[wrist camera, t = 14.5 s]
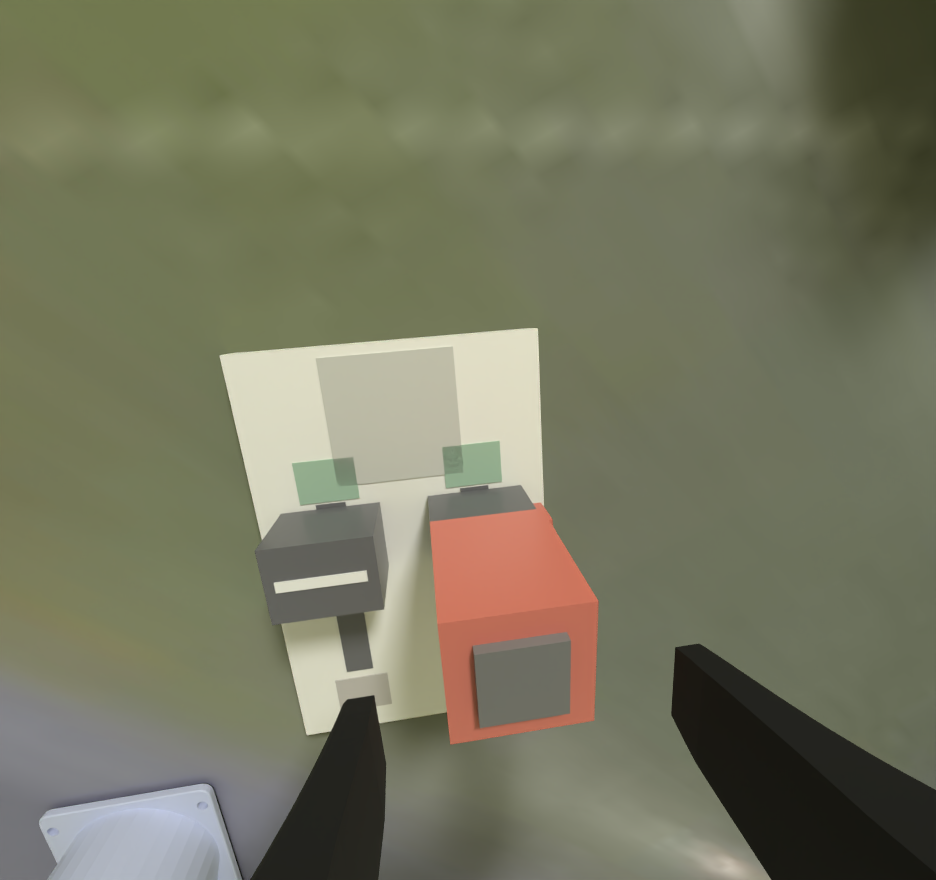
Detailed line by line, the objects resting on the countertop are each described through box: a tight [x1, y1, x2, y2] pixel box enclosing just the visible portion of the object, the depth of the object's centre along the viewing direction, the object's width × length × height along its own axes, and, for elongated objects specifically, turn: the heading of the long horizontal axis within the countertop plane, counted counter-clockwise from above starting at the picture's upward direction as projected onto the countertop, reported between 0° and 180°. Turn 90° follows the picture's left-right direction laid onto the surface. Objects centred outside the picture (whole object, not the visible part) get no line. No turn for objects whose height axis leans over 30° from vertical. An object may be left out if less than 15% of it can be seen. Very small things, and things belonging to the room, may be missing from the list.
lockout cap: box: [430, 508, 598, 745], centre depth 13 cm, size 4×4×5 cm
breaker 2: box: [428, 485, 553, 526], centre depth 17 cm, size 3×5×3 cm, turn 95°
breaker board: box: [220, 328, 544, 735], centre depth 19 cm, size 18×12×1 cm, turn 5°
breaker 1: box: [255, 502, 389, 625], centre depth 17 cm, size 3×4×3 cm
